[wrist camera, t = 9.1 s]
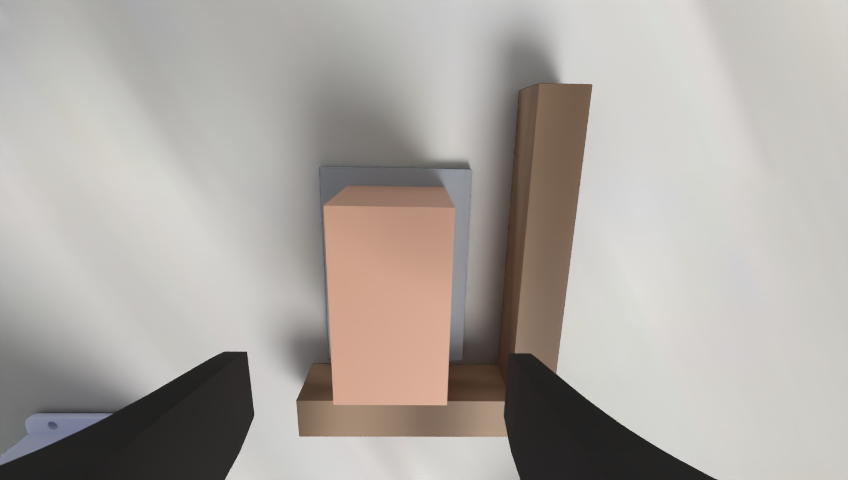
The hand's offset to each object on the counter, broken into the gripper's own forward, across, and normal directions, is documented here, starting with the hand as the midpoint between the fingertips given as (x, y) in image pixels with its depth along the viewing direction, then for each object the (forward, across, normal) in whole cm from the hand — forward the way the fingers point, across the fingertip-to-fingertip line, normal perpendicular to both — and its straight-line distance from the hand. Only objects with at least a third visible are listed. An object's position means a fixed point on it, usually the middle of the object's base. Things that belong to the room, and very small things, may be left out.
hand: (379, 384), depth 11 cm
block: (+9, 0, 0) cm, 9 cm away
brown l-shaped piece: (+9, -2, -1) cm, 9 cm away
